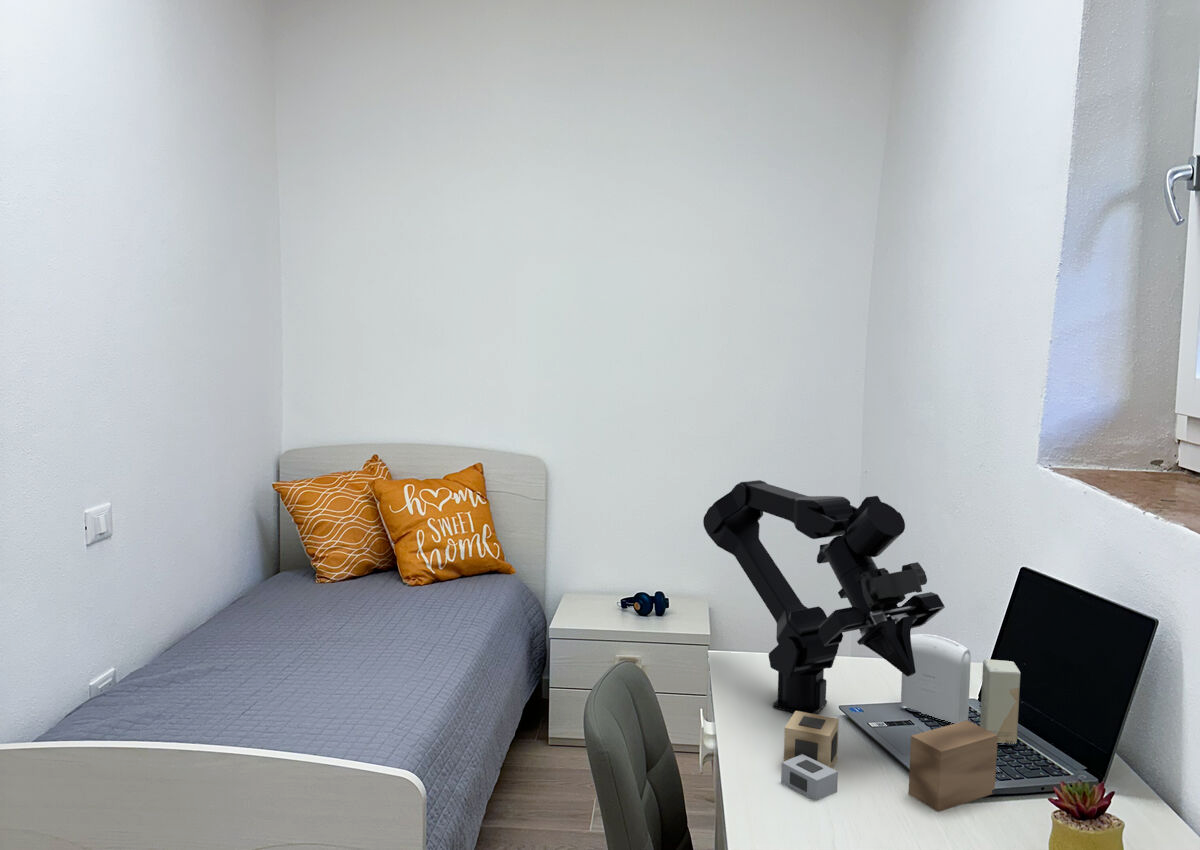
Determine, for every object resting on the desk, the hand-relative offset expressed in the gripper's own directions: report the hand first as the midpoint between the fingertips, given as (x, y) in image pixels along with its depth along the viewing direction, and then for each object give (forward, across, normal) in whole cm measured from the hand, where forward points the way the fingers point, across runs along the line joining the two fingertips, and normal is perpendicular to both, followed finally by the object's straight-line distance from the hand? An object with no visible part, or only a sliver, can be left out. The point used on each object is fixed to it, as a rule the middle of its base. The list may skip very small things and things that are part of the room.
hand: (911, 674), depth 132 cm
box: (+9, +18, +10) cm, 23 cm away
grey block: (+8, -15, +11) cm, 21 cm away
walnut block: (+15, 0, +4) cm, 15 cm away
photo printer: (+2, +16, +17) cm, 24 cm away
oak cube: (+4, -11, +14) cm, 19 cm away
